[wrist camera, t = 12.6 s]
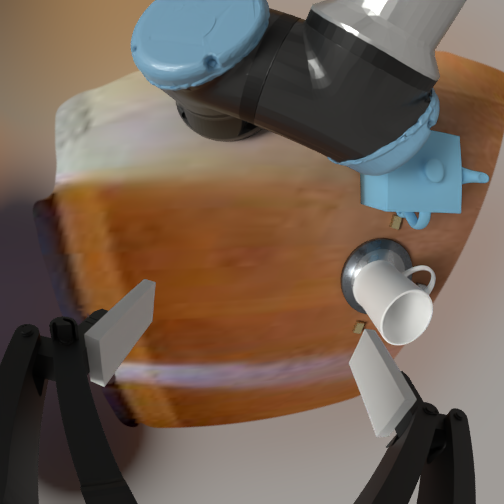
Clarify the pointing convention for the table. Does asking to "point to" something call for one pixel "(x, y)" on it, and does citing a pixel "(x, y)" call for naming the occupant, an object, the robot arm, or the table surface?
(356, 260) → the socket pad
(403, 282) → the mug
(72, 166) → the table surface
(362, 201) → the teapot
